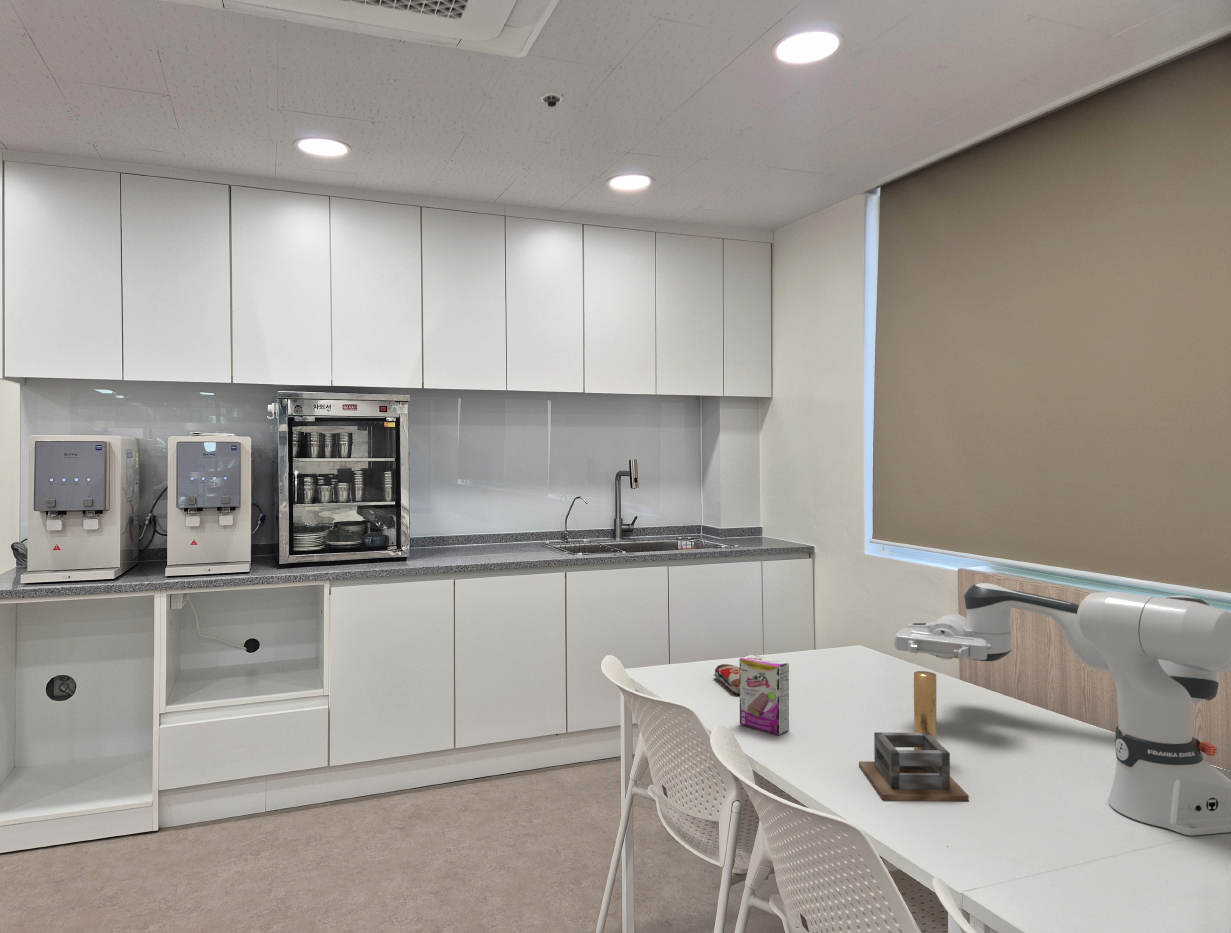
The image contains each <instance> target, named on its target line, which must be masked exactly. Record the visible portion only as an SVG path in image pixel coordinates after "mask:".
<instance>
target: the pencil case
mask: <svg viewBox="0 0 1231 933" xmlns="http://www.w3.org/2000/svg"><path fill="white" fill-rule="evenodd" d="M713 676H714V677H715V678H716V679H717V680H718V681H720V682H721V683H722V684H723V685H724V686H725V687H726V688H728V689H729V690H730V691H731V692H733V693H735V694H736V695H740V666H737V665H734V664H729V663H728V664H727V663H724V664H720V665H719V664H718V665H717V666H716V668H715V669H714V674H713Z"/></svg>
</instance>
